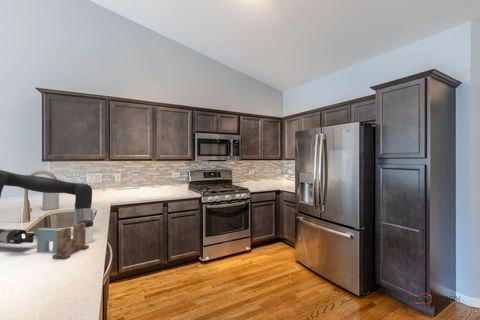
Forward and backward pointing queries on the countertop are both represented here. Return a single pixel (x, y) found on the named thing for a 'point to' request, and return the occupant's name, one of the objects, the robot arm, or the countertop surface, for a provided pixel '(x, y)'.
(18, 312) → the countertop surface
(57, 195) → the cylinder vase
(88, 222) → the jar
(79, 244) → the brown wooden u-shaped piece
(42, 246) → the teal rectangular panel
